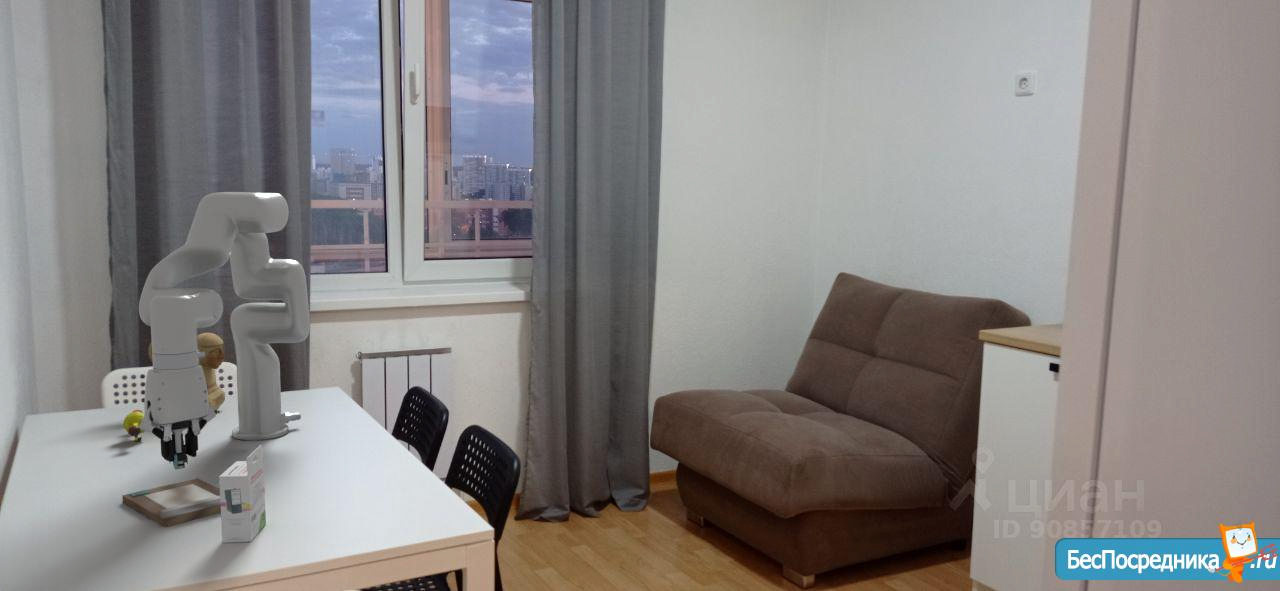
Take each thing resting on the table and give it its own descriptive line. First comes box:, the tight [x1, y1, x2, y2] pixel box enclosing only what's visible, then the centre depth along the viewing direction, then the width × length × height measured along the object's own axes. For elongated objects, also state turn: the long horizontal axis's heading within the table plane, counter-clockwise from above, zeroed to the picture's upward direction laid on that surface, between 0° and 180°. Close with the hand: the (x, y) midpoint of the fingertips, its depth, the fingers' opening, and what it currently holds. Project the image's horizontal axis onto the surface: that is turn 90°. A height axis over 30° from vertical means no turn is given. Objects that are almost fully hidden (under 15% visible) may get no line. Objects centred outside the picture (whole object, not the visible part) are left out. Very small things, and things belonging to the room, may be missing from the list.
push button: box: [171, 420, 191, 470], centre depth 172 cm, size 7×5×10 cm
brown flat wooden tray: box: [122, 477, 221, 528], centre depth 173 cm, size 14×18×3 cm
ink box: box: [218, 444, 267, 544], centre depth 159 cm, size 9×5×15 cm, turn 5°
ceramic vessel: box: [147, 332, 226, 412], centre depth 238 cm, size 17×20×25 cm
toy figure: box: [123, 409, 145, 442], centre depth 215 cm, size 18×6×7 cm, turn 26°
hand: (180, 456), depth 172 cm, fingers closed on push button, 3 cm apart
